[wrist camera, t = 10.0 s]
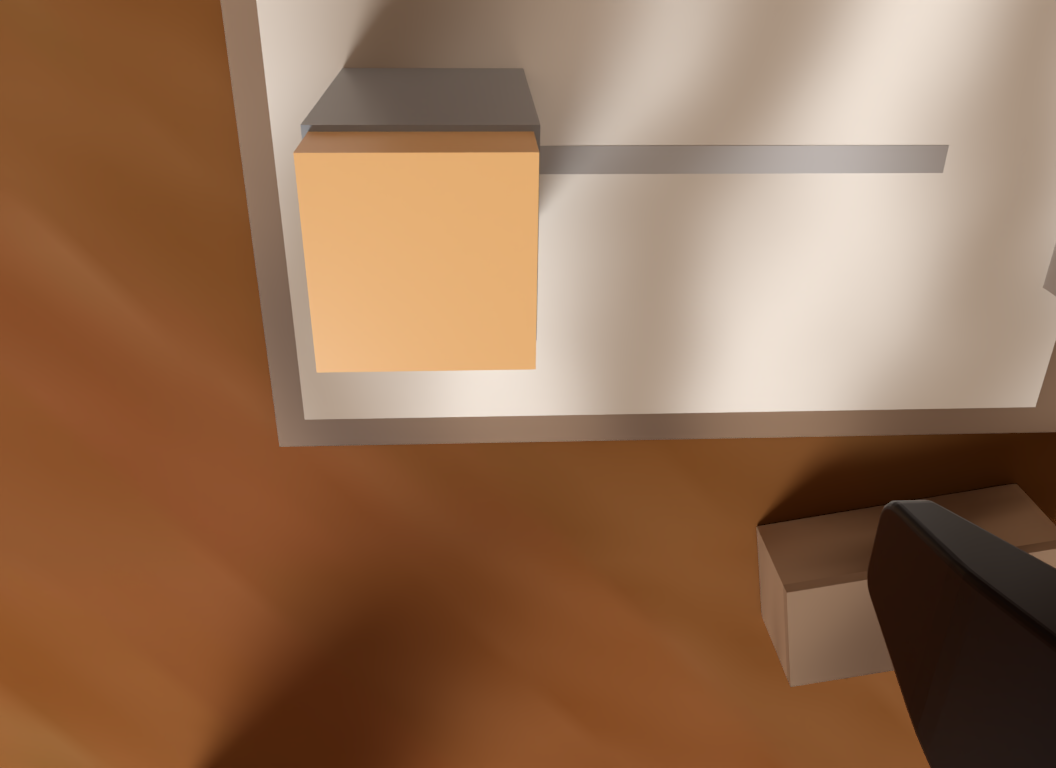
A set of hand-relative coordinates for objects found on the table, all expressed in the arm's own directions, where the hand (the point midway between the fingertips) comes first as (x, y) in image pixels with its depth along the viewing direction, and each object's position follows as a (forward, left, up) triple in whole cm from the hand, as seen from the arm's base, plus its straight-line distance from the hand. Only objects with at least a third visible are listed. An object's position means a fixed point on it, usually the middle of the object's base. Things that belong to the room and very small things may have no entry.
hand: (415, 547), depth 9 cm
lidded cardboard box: (0, -1, -12) cm, 12 cm away
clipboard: (-6, 0, -13) cm, 14 cm away
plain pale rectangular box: (-12, +11, -13) cm, 20 cm away
